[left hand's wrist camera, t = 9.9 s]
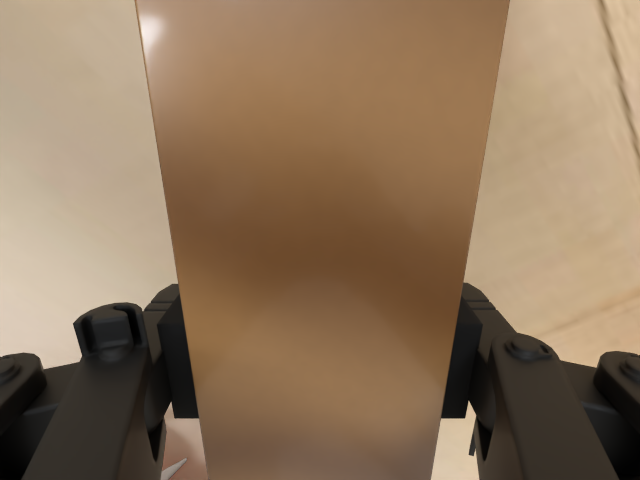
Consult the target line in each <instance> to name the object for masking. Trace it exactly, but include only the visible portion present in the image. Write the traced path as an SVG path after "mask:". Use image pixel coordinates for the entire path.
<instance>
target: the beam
mask: <svg viewBox="0 0 640 480" xmlns="http://www.w3.org/2000/svg"><path fill="white" fill-rule="evenodd" d="M509 2H510V0H135V6H136V12H137V19H138V25H139V32H140V38H141V45H142V51H143V57H144V64H145V70H146V77H147V83H148V90H149V96H150V103H151V109H152V116H153V122H154V129H155V135H156V142H157V148H158V155H159V161H160V168H161V174H162V181H163V187H164V194H165V200H166V207H167V213H168V220H169V226H170V233H171V239H172V246H173V252H174V259H175V265H176V272H177V278H178V284H179V291H180V297H181V304H182V310H183V317H184V323H185V330H186V336H187V343H188V349H189V356H190V362H191V369H192V375H193V382H194V388H195V395H196V401H197V408H198V414H199V421H200V427H201V434H202V440H203V447H204V453H205V460H206V466H207V473H208V479H209V480H431V475H432V468H433V462H434V456H435V450H436V444H437V438H438V432H439V426H440V420H441V414H442V408H443V402H444V396H445V390H446V384H447V378H448V372H449V366H450V359H451V353H452V347H453V341H454V335H455V329H456V323H457V317H458V311H459V305H460V299H461V293H462V287H463V281H464V275H465V269H466V263H467V257H468V250H469V244H470V238H471V232H472V226H473V220H474V214H475V208H476V202H477V196H478V190H479V184H480V178H481V172H482V166H483V160H484V154H485V148H486V142H487V135H488V129H489V123H490V117H491V111H492V105H493V99H494V93H495V87H496V81H497V75H498V69H499V63H500V57H501V51H502V45H503V39H504V33H505V26H506V20H507V14H508V8H509Z"/></svg>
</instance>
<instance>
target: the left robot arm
mask: <svg viewBox="0 0 640 480" xmlns="http://www.w3.org/2000/svg"><path fill="white" fill-rule="evenodd" d="M73 325H74V329H75V332H76V336H77V339H78V343H79V346H80V349H81V353H82V358H81V360H80V362H77V363H73V364H68V365H63V366H58V367H53V368H48V369H43V366H42V364H41V361H40V358H39V357H38V356H36V355H35V354H30V353H18V354H10V355H5V356H3V357H0V480H161V472H162V464H163V456H164V448H165V440H166V432H167V431H166V425H165V420H164V415H165V413H166V411H167V409H168V407H169V405H170V403H171V402H172V407H173V412H174V418H199V414H198V408H197V401H196V395H195V388H194V382H193V375H192V369H191V362H190V356H189V349H188V343H187V336H186V330H185V323H184V317H183V310H182V304H181V297H180V291H179V284H172V285H170V286H168V287H167V288H165V289H163V290H162V291H160V292H159V293H158V294H157V295H156V296H155V297H154V298H153V300H152V301H151V303H149V304H148V306H147V307H146V308H145V309H144V311H142V308H141V307H139V306H138V305H137V304H133V303H127V302H126V303H113V304H108V305H104V306H101V307H98V308H95V309H93V310H90V311H88V312H87V313H85V314H83V315H82V316H80V317H79V318H78V319H77V320H76V321H75V322H74V323H73ZM468 400H469V401H470V403H471V405H472V407H473V409H474V411H475V413H476V420H475V424H474V429H473V434H472V439H471V444H470V449H469V455H471V456H474V452H475V448H476V455H477V463H478V471H479V480H640V355H637V354H634V353H627V352H620V351H612V352H606V353H604V354H603V355H602V356H600V359H599V362H598V365H597V368H595V367H590V366H585V365H580V364H575V363H570V362H565V361H561V360H560V359H559V357H558V355H557V354H556V353H555V352H554V350H553V349H552V348H551V347H550V346H548V345H547V344H545V343H544V342H542V341H540V340H538V339H536V338H534V337H531V336H528V335H524V334H520V333H517V332H516V331H515V330H514V329H513V328H512V327H511V325H510V324H509V323H508V322H507V321H506V320H505V318H504V317H503V316H502V315H501V314H500V313H499V311H498V310H496V308H495V307H494V306H493V304H492V303H491V302H489V300H488V299H487V297H486V296H485V295H484V294H483V293H482V292H481V291H480V290H479V289H477V288H475V287H474V286H472V285H470V284H469V283H463V287H462V293H461V299H460V305H459V311H458V317H457V323H456V329H455V335H454V341H453V347H452V353H451V359H450V366H449V372H448V378H447V384H446V390H445V396H444V402H443V408H442V414H441V418H465V416H466V411H467V406H468Z"/></svg>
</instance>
